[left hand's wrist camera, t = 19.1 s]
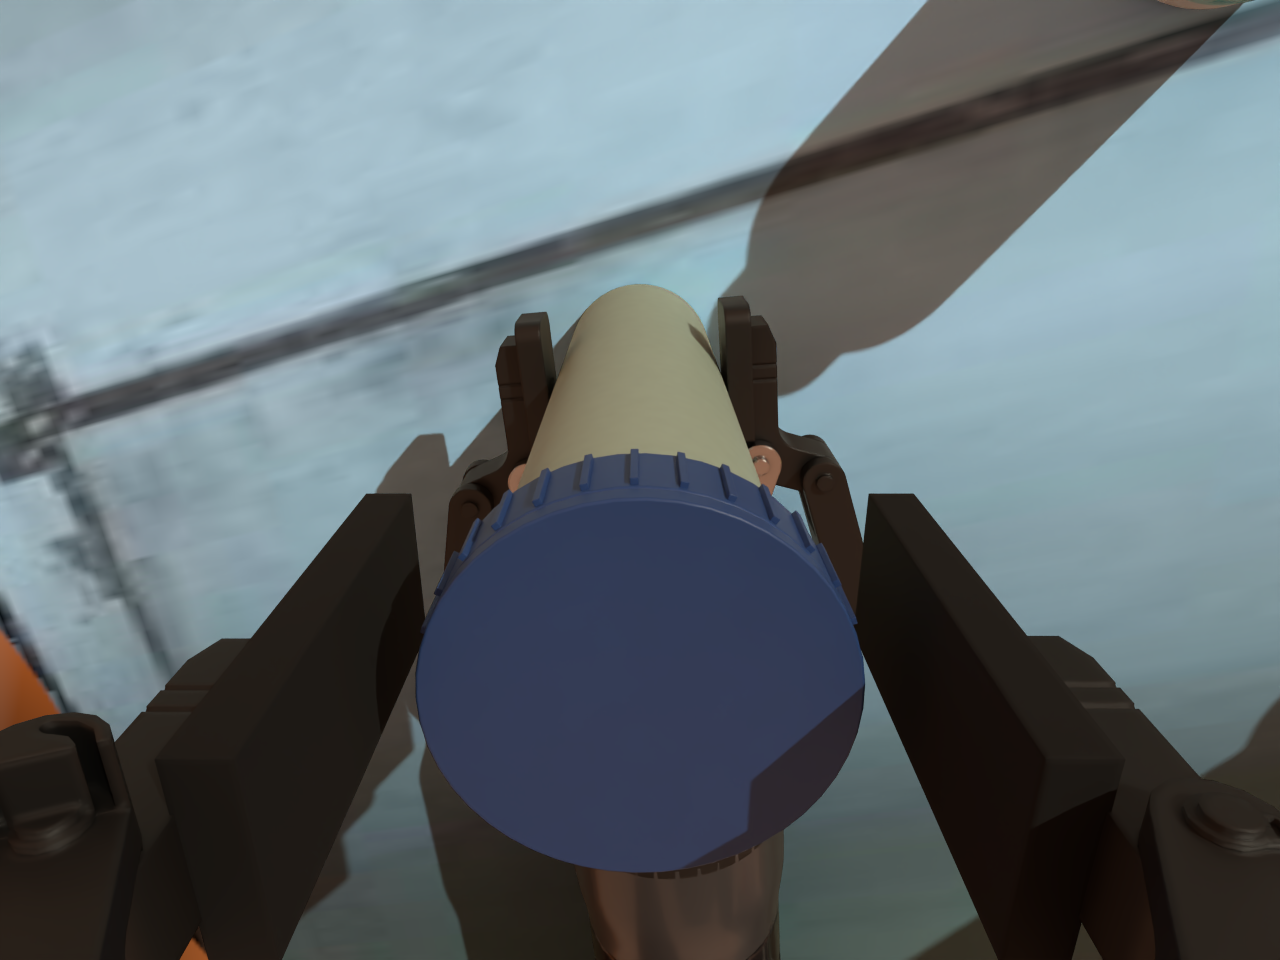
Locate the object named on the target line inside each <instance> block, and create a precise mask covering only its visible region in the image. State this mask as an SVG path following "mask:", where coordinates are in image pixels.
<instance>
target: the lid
mask: <svg viewBox="0 0 1280 960" xmlns="http://www.w3.org/2000/svg"><path fill="white" fill-rule="evenodd" d="M434 594H435V595H436V597H435V599H434V601H433V603H432V605H431V607H430V610H429V612H428V614H427V616H426V618H425V621H424V623H423V625H422V627H421V632H420V633H422V634H424V635H423V638H422V641H421V644H420V648H419V653H418V660H417V667H416V673H415V674H416V703H417V709H418V715H419V721H420V725H421V728H422V731H423V734H424V737H425V740H426V743H427V746H428V748H429V750H430V752H431V754H432V756H433V758H434V760H435V762H436V764H437V766H438V768H439V770H440V771H441V773H442V774H443V776H444V777H445V778H446V780H447V781H448V783H449V784H450V786H451V787H452V789H453V790H454V791H455V792H456V793H457V794H458V795H459V796H460V798H461V799H462V800H463V801H464V802H465V803H466V804H467V805H468V806H469V807H470V808H471V809H472V810H473V811H474V812H475V813H476V814H478V815H479V816H480V817H481V818H482V819H483V820H485V821H486V822H487V823H488V824H490V825H491V826H492V827H494V828H495V829H497V830H498V831H500V832H501V833H503V834H504V835H506V836H507V837H509V838H510V839H512V840H514V841H516V842H518V843H520V844H522V845H524V846H526V847H528V848H530V849H531V850H534V851H536V852H539V853H541V854H544V855H546V856H549V857H552V858H554V859H557V860H560V861H564V862H567V863H571V864H575V865H578V866H582V867H588V868H594V869H599V870H605V871H616V872H630V873H646V872H665V871H673V870H681V869H688V868H693V867H697V866H701V865H705V864H710V863H714V862H717V861H720V860H722V859H725V858H728V857H731V856H734V855H737V854H739V853H742V852H744V851H746V850H748V849H750V848H752V847H754V846H757V845H759V844H761V843H763V842H764V841H766V840H768V839H769V838H771V837H772V836H774V835H776V834H777V833H779V832H781V831H782V830H784V829H785V828H786V827H788V826H789V825H790V824H792V823H793V822H794V821H795V820H797V819H798V818H799V817H800V816H802V815H803V814H804V813H805V812H806V811H807V810H808V809H809V808H810V807H811V806H812V805H813V804H814V803H815V802H816V801H817V800H818V799H819V798H820V797H821V796H822V795H823V793H824V792H825V791H826V790H827V788H828V787H829V786H830V784H831V783H832V782H833V780H834V779H835V778H836V776H837V775H838V773H839V771H840V769H841V768H842V766H843V764H844V763H845V761H846V759H847V757H848V755H849V753H850V750H851V748H852V745H853V743H854V740H855V738H856V735H857V733H858V728H859V724H860V720H861V716H862V711H863V705H864V691H865V677H864V665H863V656H862V653H861V649H860V645H859V641H858V637H857V633H856V631H855V628H854V626H853V625H855V624H857V620H856V617H855V615H854V612H853V610H852V608H851V606H850V604H849V602H848V599H847V597H846V595H845V593H844V591H843V589H842V586H841V582H840V580H839V578H838V576H837V574H836V572H835V569H834V567H833V565H832V563H831V561H830V559H829V556H828V554H827V552H826V550H825V548H824V546H823V544H822V543H819V544H818V545H816V544H815V543H814V541H813V540H812V538H811V536H810V535H809V533H808V531H807V529H806V527H805V524H804V522H803V520H802V518H801V515H800V514H799V513H798V512H797V511H795V512H793V513H790V512H789V511H788V510H787V509H786V508H785V507H784V506H783V505H782V504H780V503H779V502H778V501H777V500H776V499H775V498H774V497H772V496H771V494H770V491H769V488H768V487H767V486H765V485H764V484H761V486H760V487H758V486H756V485H755V484H753V483H752V482H750V481H748V480H746V479H744V478H742V477H740V476H738V475H736V474H734V473H732V472H731V471H730V468H729V466H727V465H725V464H722V465H721V467H720V468H719V467H716V466H713V465H710V464H708V463H705V462H702V461H697V460H693V459H688V458H686V456H685V453H683V452H677V456H674V455H662V454H651V453H639V449H631V451H630V454H615V455H609V456H603V457H596V458H593V455H592V454H588V455H584V460H583V461H580V462H576V463H573V464H569V465H566V466H563V467H560V468H558V469H556V470H554V471H551V472H550V470H549V468H546V469H543V470H542V471H541V473H540V477H538V478H536V479H534V480H533V481H531V482H529V483H528V484H526V485H524V486H523V487H521V488H519V489H518V490H516V491H515V492H513V493H512V492H511V491H510V490H508V491H506V492H505V493H504V494H503V496H502V499H501V501H500V504H498V505H497V506H496V507H495V508H494V509H493V510H492V511H491V512H490V513H489V514H488V515H487V516H486V517H485V518H484V519H483V520H480V519H479V518H477V519H476V520H475V521H474V522H473V524H472V526H471V529H470V531H469V533H468V535H467V538H466V540H465V542H464V544H463V546H462V549H461V551H460V553H458V552H456V551H454V552H453V554H452V556H451V558H450V560H449V562H448V564H447V566H446V569H445V571H444V573H443V575H442V577H441V579H440V582H439V584H438V586H437V588H436V590H435V592H434Z"/></svg>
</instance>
